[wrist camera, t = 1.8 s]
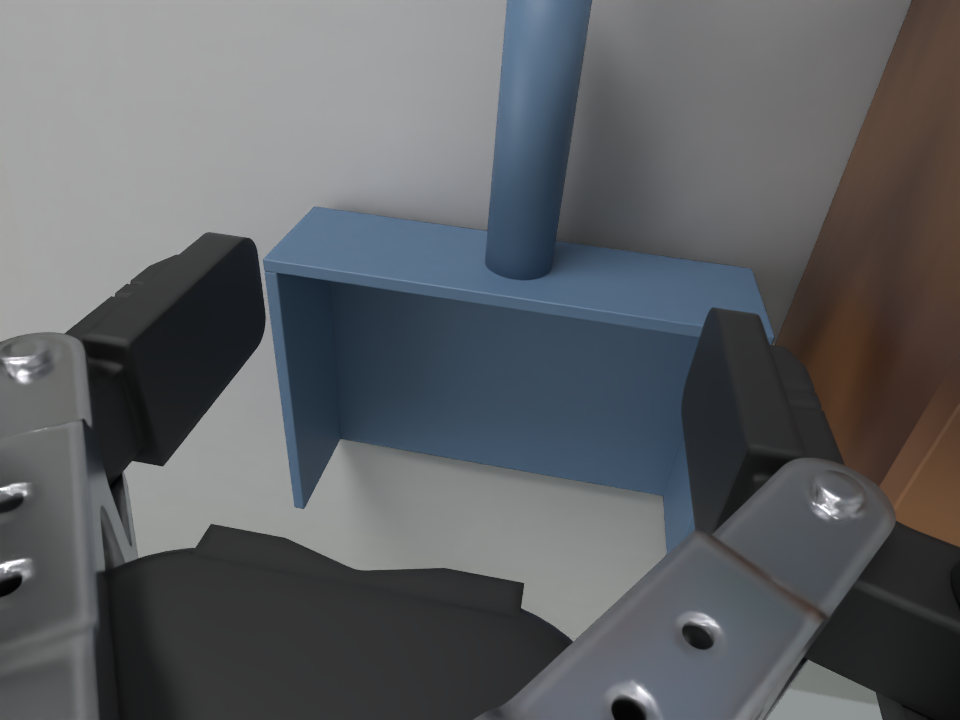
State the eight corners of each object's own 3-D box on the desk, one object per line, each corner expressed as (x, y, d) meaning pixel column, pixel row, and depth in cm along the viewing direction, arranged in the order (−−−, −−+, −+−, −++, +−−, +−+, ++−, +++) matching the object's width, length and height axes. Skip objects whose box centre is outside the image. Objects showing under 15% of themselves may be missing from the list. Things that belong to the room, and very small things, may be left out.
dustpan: (672, 490, 27) (679, 580, 24) (334, 431, 29) (294, 507, 25) (882, -125, 16) (958, -129, 12) (291, -175, 17) (204, -191, 13)
